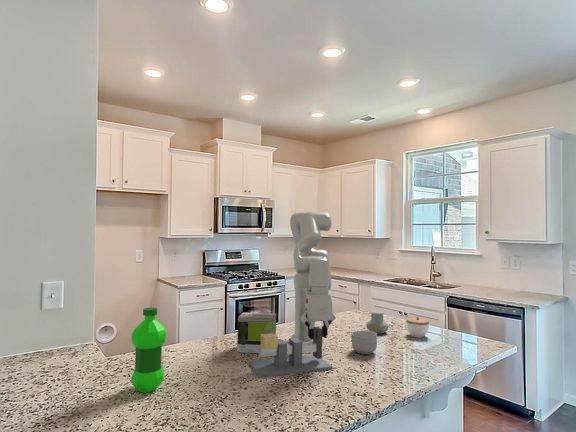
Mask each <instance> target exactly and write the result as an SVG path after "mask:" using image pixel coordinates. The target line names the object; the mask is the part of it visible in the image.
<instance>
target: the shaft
mask: <svg viewBox="0 0 576 432" xmlns="http://www.w3.org/2000/svg"><path fill="white" fill-rule="evenodd" d="M313 329H314V339H313V342H302V354H308V353H312V355H313V356H314V357H315V358H317V359H320V358H322V359H323V337H322V327H320V326H315V327H313ZM257 354H258V356H259V357H260V358H265V357H274V356H277V355H278V348H273V349H264V348H263V347H262V346H259V353H257ZM289 354H294V345H293V344H292V343H290V344H289V343H287V356H289Z"/></svg>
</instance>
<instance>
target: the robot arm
mask: <svg viewBox="0 0 576 432" xmlns="http://www.w3.org/2000/svg"><path fill="white" fill-rule="evenodd" d="M289 221H290V222H289V224H290V230H291V234H292V236H293V239H294V243H295V247H294V248H293V265H294V270H295V272H296V273H295V274H294V277H293V286H294V330H293V331H294V332H293V333H294V334H292V335H291V336H290V338H298V339H299V340H300V341H302V342H313V339H314V329H313V327H316V322H322V326H321V329H322V338H324V339H327V338H328V334H329V333H328V332H329V330H328V329H329V327H330V325H331V324H332V323H333V322H334V321H335V320H336V318H337V317H336V316H335V314H334V313H333V303H332V300H333V299H332V295H331V293H329V291H330V290H331V287H332V276H331V275H332V274H331V261H330V255H329V253H328V251H326V250H324V249H314V248H315V247H317V246H318V245H320V243H321V242H322V235H321V232H329V231H330V230H331V228H332V224H333V223H332V218H331V216H330V214H329V213H328V212H316V211H315V212H314V211H313V212H310V211H307V212H296V213H295V212H294V214H292V215H291V217H290V219H289Z"/></svg>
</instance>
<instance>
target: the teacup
mask: <svg viewBox="0 0 576 432" xmlns="http://www.w3.org/2000/svg"><path fill="white" fill-rule="evenodd" d="M350 336H351V348H352V349H353V350H354V351H355V353H357V354H359V355H371V354H373V353H374V352H375V351H376V350H377V348H378V347H377V346H378V337H377V336H378V334H377V333H375V332H372V331H370V330H368V329H367V330H355V331H352V332H351V334H350Z"/></svg>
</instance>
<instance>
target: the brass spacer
mask: <svg viewBox="0 0 576 432" xmlns="http://www.w3.org/2000/svg"><path fill="white" fill-rule="evenodd" d="M278 339H279V337H278V336H277V334H276V335H275V334H274V333H271V334H261V346H262V347H263V348H264V349H273V348H278Z"/></svg>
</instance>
